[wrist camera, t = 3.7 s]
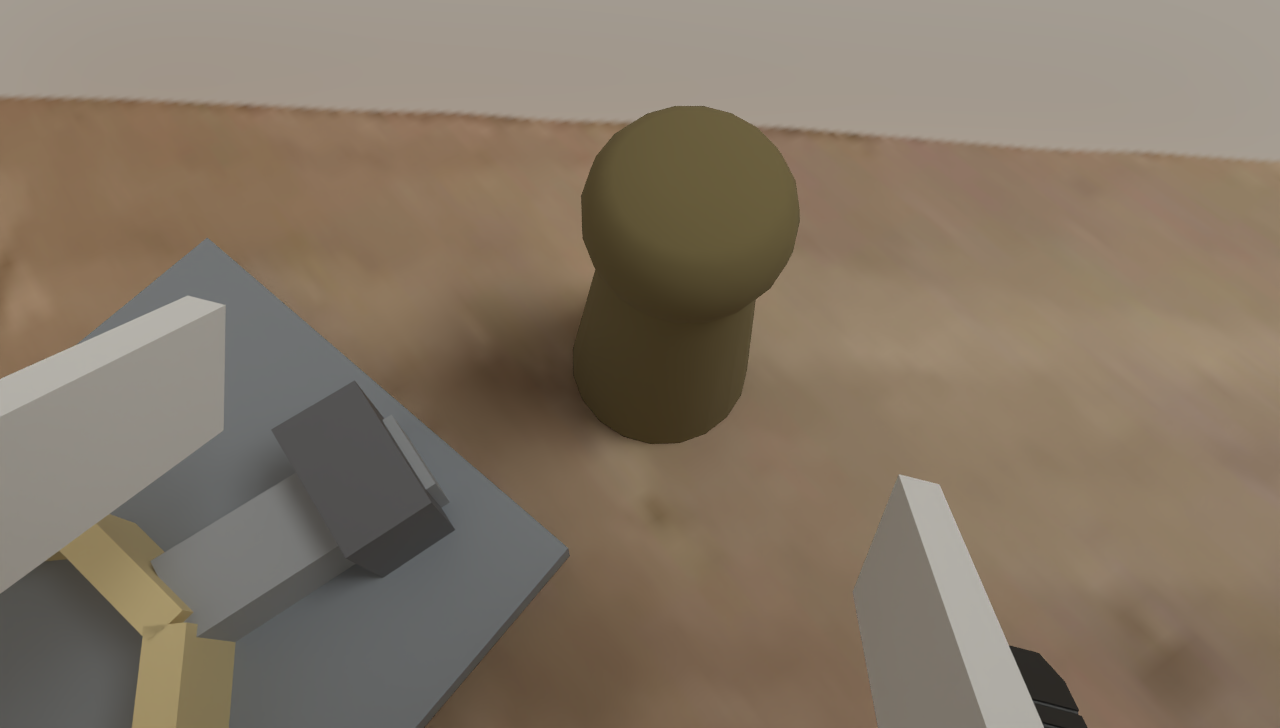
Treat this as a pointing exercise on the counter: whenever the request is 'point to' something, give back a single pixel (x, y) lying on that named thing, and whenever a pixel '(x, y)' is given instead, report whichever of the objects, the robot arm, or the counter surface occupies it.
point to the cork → (678, 268)
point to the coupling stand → (275, 555)
